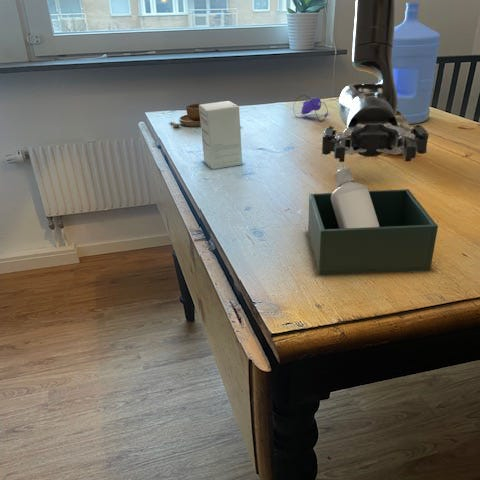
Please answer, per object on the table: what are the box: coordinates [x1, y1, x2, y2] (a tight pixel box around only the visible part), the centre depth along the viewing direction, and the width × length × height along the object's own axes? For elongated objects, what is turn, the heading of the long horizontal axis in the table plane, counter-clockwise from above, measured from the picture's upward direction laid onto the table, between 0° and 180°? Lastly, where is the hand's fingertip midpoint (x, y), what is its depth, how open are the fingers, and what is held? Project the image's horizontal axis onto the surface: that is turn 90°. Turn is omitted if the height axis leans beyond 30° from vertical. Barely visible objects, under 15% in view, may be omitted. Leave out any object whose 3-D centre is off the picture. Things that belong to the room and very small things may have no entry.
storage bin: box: [307, 188, 439, 276], centre depth 73 cm, size 15×14×7 cm
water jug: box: [377, 1, 441, 126], centre depth 134 cm, size 16×16×28 cm
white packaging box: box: [199, 100, 243, 170], centre depth 112 cm, size 7×7×13 cm
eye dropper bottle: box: [331, 161, 380, 229], centre depth 75 cm, size 4×6×12 cm
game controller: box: [292, 95, 329, 122], centre depth 147 cm, size 10×8×10 cm
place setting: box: [170, 103, 202, 128], centre depth 147 cm, size 18×20×6 cm
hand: (375, 154), depth 66 cm, fingers open, 8 cm apart
